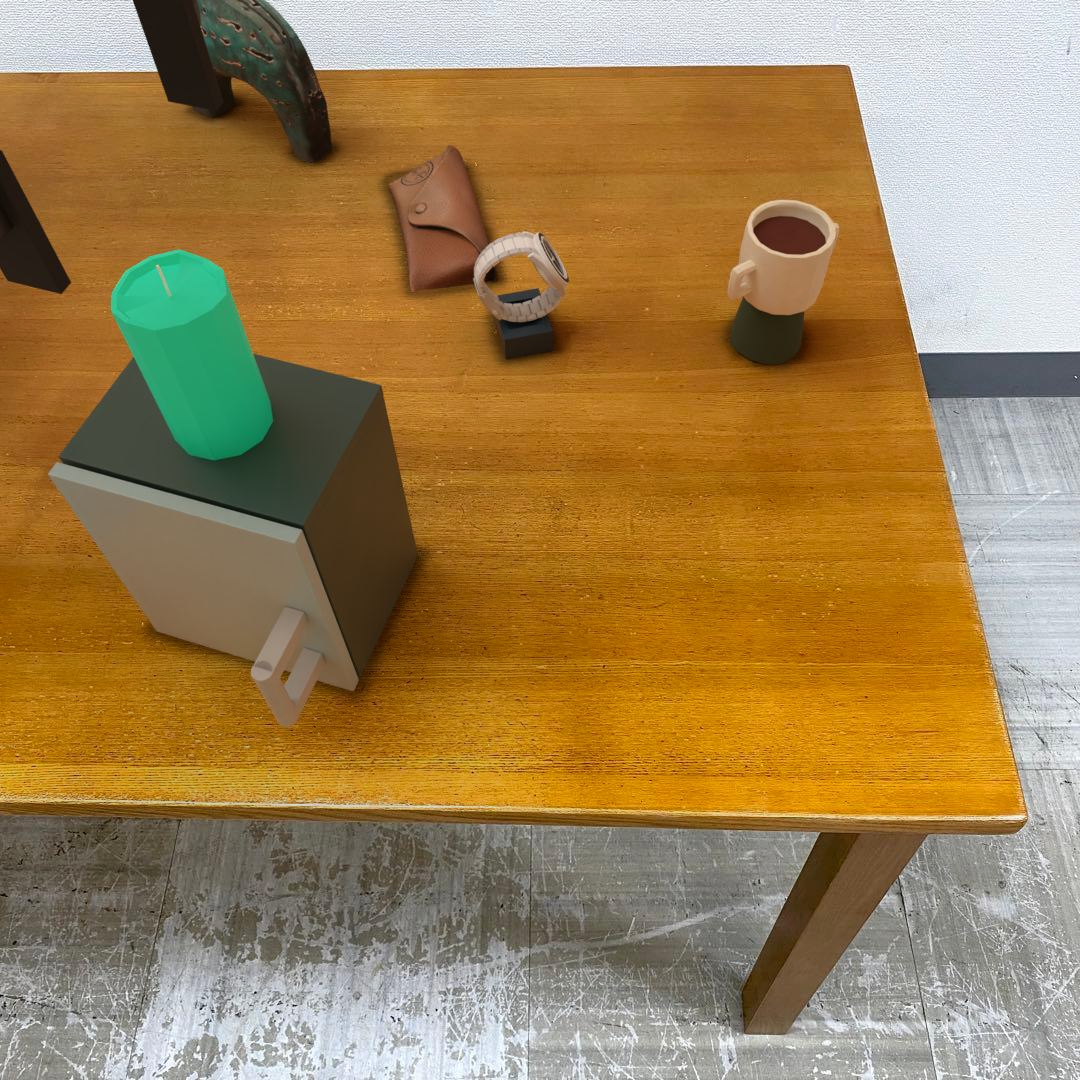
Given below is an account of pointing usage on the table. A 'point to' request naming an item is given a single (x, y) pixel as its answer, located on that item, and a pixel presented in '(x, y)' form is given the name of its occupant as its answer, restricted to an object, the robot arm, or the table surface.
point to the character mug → (779, 277)
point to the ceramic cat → (267, 69)
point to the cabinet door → (218, 582)
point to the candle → (193, 353)
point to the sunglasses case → (440, 223)
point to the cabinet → (284, 480)
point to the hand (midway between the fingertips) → (123, 186)
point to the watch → (523, 294)
